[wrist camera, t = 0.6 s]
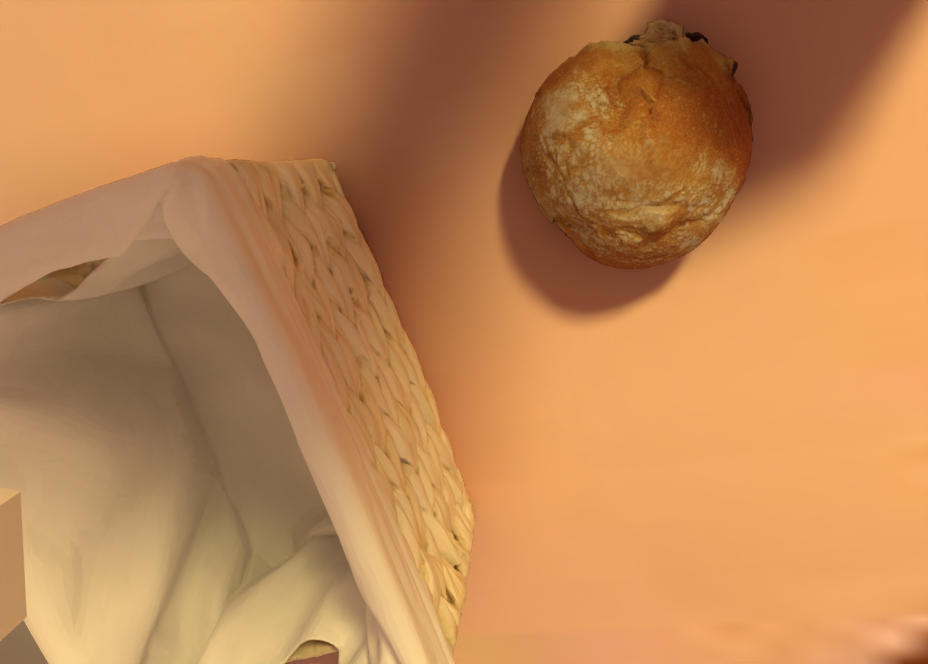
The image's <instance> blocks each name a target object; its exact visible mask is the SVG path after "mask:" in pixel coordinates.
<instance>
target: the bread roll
mask: <svg viewBox="0 0 928 664" xmlns="http://www.w3.org/2000/svg"><path fill="white" fill-rule="evenodd" d="M647 25H648V26H647V29H646V31H645V34H643V35H641V36H640V35H634V36H631V37H630V38H629V39H628V40H626V41H625V42H623V43H621V42H608V41H600V42H599V43H588V44H587V45H586V46H585V47H584V48H583V49H582V50H581V51H580V52H579V53H578V54H577V55H576V56H575V57H569V58H568V59H567V60H566V61H565V62H564V63H562V64H561V65H560V66H559V68H558V69H556V70H555V71H554V72H553V73H551V74H550V75H549V77H548V78H547V79H546V80H545V82H544V83H543V85H542V86H541V87H540V89H539V90H538V91H537V93H536V95H535V99H534V101H533V103H532V105H531V107H530V110H529V112H528V114H527V116H526V119H525V123H524V127H523V131H522V135H521V138H520V150H521V156H522V159H523V170H524V173H525V175H526V180H527V181H528V184H529V185H530V189H531V191H532V192H533V197H534V198H535V199H536V201H537V203H538V206H539V209H540V211H541V212H542V214H543V215H544V216H545V217H546V218H547V219H548V220H549V221H550V222H551V223H553V222H554V221H556V222H558V227H559V228H560V229H561V230H562V231H563V232H565V235H566V236H568V237H570V238H571V239H572V240H573V241H574V243H575V244H576V246H577V247H578V248H579V249H580V250H581V251H582V252H583V253H584V254H585V255H586V256H588V257H589V258H591V259H593V260H595V261H597V262H599V263H601V264H604V265H607V266H611V267H615V268H622V269H642V268H648V267H652V266H657V265H661V264H664V263H667V262H669V261H671V260H674V259H676V258H678V257H680V256H682V255H685V254H687V253H688V252H690V251H692V250H694V249H695V248H696V247H698V246H699V245H700V244H701V243H702V242H703V241H704V240H705V239H707V238H708V237H709V236H710V235H711V233H712V232H713V231H714V229H715V228H716V227H717V225H718V224H719V223H720V221H721V220H722V219H723V217H724V216H725V215H726V213H727V212H728V210H729V209H730V205H731V203H732V202H733V201H734V199H735V197H736V195H737V193H738V192H739V190H740V189H741V187H742V185H743V183H744V180H745V178H746V172H747V169H748V166H749V163H750V158H751V147H752V141H753V137H752V127H751V125H752V120H753V117H752V112H751V107H750V104H749V101H748V98H747V95H746V94H745V92H744V90H743V88H742V86H741V85H740V84H738V83H737V82H736V80H735V78H734V76H733V75H734V73H735V71H736V69H737V66H738V63H737V62H736V61H735V60H733V59H730V58H728V57H726V56H724V55H722V54H720V53H719V52H717V51H715V50H713V48H712V47H711V46H710V45H709V44H708V39H707V38H706V37H704V36H703V35H702V34H700V33H699V32H695V33H689V32H688V33H685V32H684V27H683V26H682V25H681V24H680V23H675V22H669V21H666V20H665V19H659V20H657V21H652V22H650V23H648V24H647ZM646 53H647V54H646ZM645 54H646V55H645Z"/></svg>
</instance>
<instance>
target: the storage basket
mask: <svg viewBox="0 0 928 664" xmlns="http://www.w3.org/2000/svg"><path fill="white" fill-rule="evenodd" d="M335 168H336V165H335V162H327V161H326V160H325V159H319V158H316V159H301V160H288V161H268V162H255V161H249V160H247V161H246V160H239V159H233V160H226V161H224V160H222V159H218V158H207V157H204V156H190V157H187V158H184V159H181V160H179V161H177V162H173V163H169V164H166V165H163V166H160V167H157V168H154V169H151V170H149V171H146V172H143V173H140V174H137V175H134V176H131V177H128V178H125V179H122V180H119V181H115V182H112V183H109V184H106V185H103V186H100V187H97V188H94V189H92V190H89V191H86V192H84V193H81V194H78V195H75V196H73V197H70V198H67V199H65V200H62V201H60V202H57V203H54V204H52V205H49V206H47V207H44V208H42V209H39V210H37V211H34V212H32V213H29V214H27V215H24V216H22V217H20V218H17V219H15V220H13V221H11V222H8V223H6V224H4V225H1V226H0V487H4V488H8V489H12V490H16V491H21V511H22V531H23V550H24V570H25V590H26V610H27V617H26V618H25V619H24V620H23V621H24V622H25V624H26V626H27V628H28V629H29V631H30V633H31V635H32V636H33V638H34V640H35V642H36V643H37V645H38V647H39V649H40V650H41V652H42V653H43V655H44V657H45V659H46V660H47V662H48V664H285V663H289V662H292V661H294V660H302V659H308V658H310V657H320V656H322V655H325V654H329V653H332V652H339V657H338V664H456V663H455V661H454V657H453V648H454V646H455V643H456V641H457V634H458V627H459V623H460V619H461V615H462V613H461V611H460V610H461V609H462V608H463V606H464V604H465V601H466V581H465V579H466V577H467V575H468V573H469V570H470V557H469V553H470V551H471V549H472V544H473V534H474V526H475V516H474V513H473V506H472V504H471V502H470V500H469V497H468V495H467V492H466V490H465V486H464V482H463V478H462V475H461V472H460V470H459V469H458V467H457V465H456V464H455V459H454V455H453V451H452V447H451V444H450V441H449V439H448V437H447V435H446V433H445V431H444V430H443V428H442V427H441V425H440V418H439V413H438V409H437V405H436V401H435V398H434V395H433V393H432V391H431V389H430V387H429V385H428V384H427V382H426V381H425V379H424V375H423V372H422V368H421V365H420V362H419V359H418V357H417V354H416V352H415V350H414V348H413V346H412V344H411V342H410V340H409V338H408V336H407V334H406V333H405V331H404V329H403V328H402V326H401V323H400V320H399V316H398V313H397V311H396V308H395V305H394V303H393V301H392V299H391V297H390V296H389V294H388V292H387V291H386V289H385V288H384V285H383V281H382V278H381V274H380V270H379V268H378V265H377V263H376V261H375V259H374V257H373V255H372V253H371V251H370V249H369V247H368V245H367V244H366V242H365V240H364V238H363V235H362V233H361V231H360V230H359V229H358V225H357V219H356V216H355V214H354V212H353V209H352V207H351V206H350V204H349V203H348V202H347V200H346V198H345V195H344V193H343V190H342V188H341V185H340V183H339V180H338V178H337V175H336V171H335V170H334V169H335Z"/></svg>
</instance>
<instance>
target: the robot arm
mask: <svg viewBox="0 0 928 664" xmlns="http://www.w3.org/2000/svg"><path fill="white" fill-rule="evenodd" d="M26 617H27V610H26V590H25V570H24V550H23V531H22V511H21V491H16V490H12V489H8V488H4V487H0V641H1V640H3V639H4V638H5V637H6V636H7V635H8V634H9V633H10V632H11V631H12V630H13V629H14V628H15V627H16V626H18V625H19V624H20V623H21V622H22V621H23V620H24V619H25V618H26Z"/></svg>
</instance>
